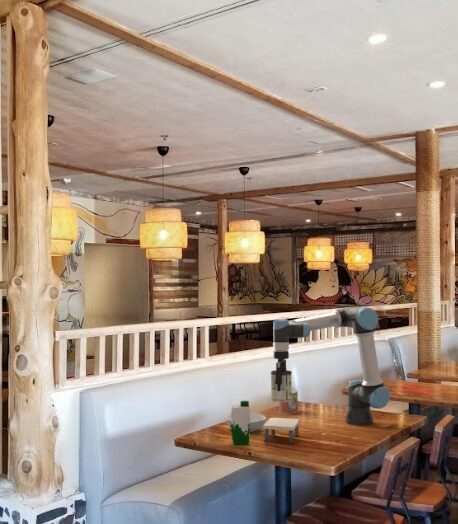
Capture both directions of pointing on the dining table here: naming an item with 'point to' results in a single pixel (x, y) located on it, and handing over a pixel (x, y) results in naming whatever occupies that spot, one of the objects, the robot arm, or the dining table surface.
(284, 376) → the coffee can
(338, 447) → the dining table surface
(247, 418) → the milk carton
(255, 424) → the serving bowl
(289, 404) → the canned food
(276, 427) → the peg stand
